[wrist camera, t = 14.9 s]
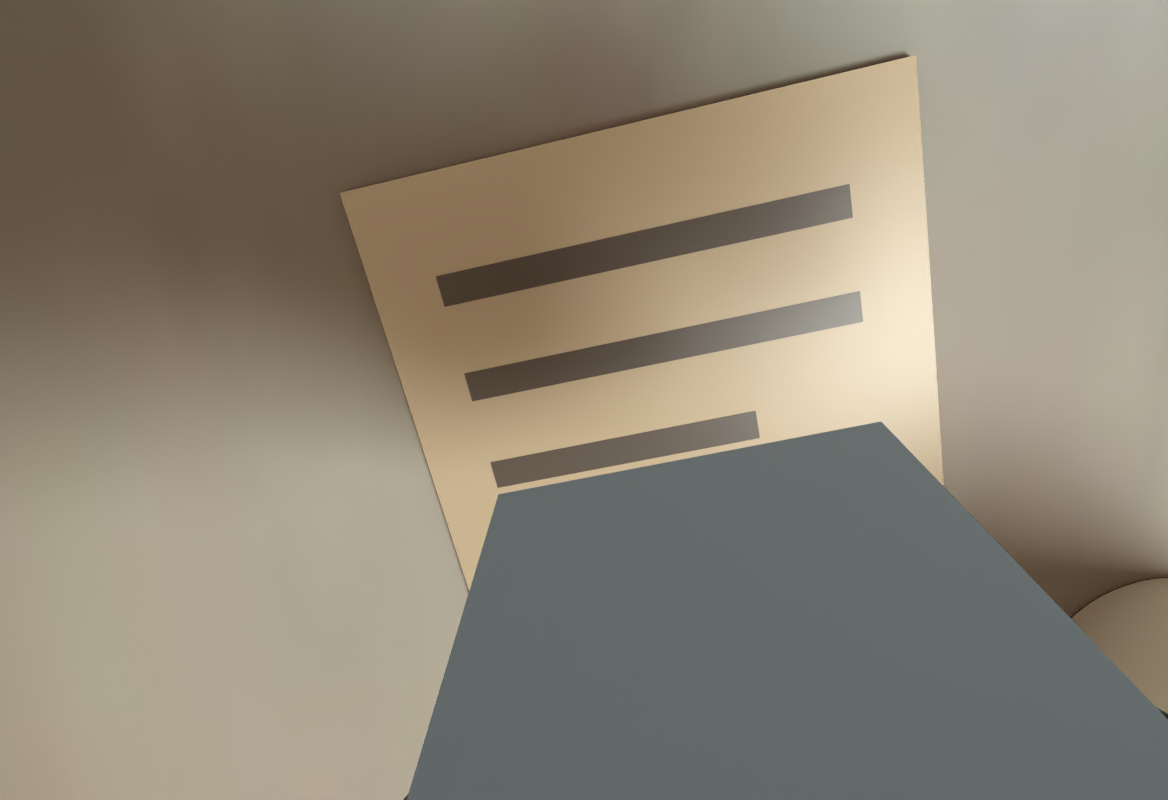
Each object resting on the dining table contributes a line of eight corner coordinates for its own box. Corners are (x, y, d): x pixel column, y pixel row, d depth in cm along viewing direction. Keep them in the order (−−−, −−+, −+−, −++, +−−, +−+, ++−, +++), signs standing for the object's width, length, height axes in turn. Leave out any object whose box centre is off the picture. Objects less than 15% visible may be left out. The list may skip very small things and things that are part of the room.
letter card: (489, 641, 20) (487, 648, 19) (343, 192, 16) (339, 192, 15) (944, 565, 18) (949, 570, 18) (911, 56, 15) (916, 54, 14)
